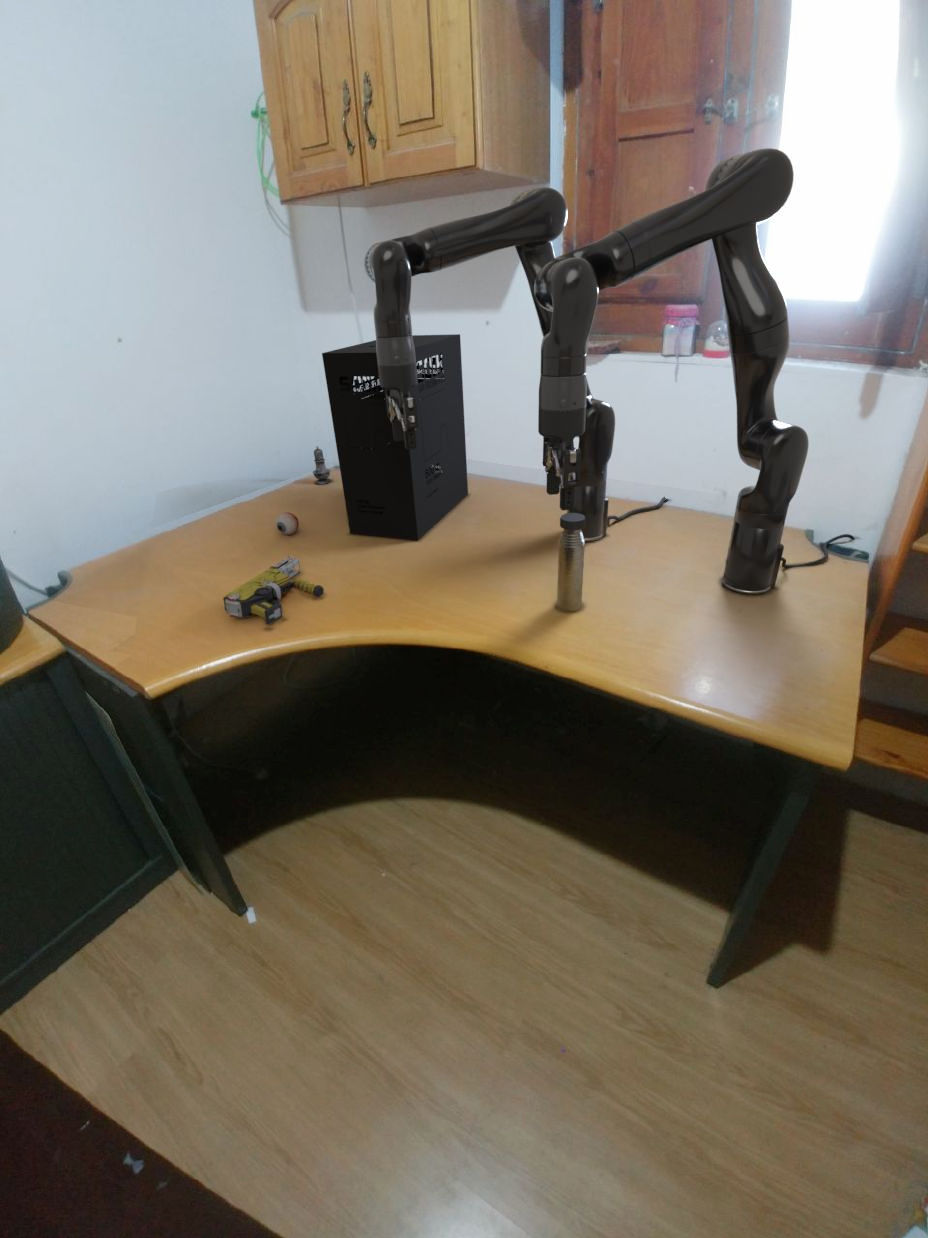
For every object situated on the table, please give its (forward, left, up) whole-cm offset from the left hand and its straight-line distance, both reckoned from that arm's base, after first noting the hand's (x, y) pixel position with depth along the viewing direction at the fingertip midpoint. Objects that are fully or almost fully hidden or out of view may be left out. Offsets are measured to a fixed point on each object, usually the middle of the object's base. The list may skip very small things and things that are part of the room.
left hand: (404, 444), depth 126 cm
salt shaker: (+7, -83, -29) cm, 88 cm away
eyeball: (+24, -39, -29) cm, 55 cm away
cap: (-23, +30, -10) cm, 39 cm away
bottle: (-23, +30, -29) cm, 48 cm away
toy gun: (+30, 0, -29) cm, 42 cm away
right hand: (-17, +36, -4) cm, 40 cm away
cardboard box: (-11, -38, -29) cm, 49 cm away
